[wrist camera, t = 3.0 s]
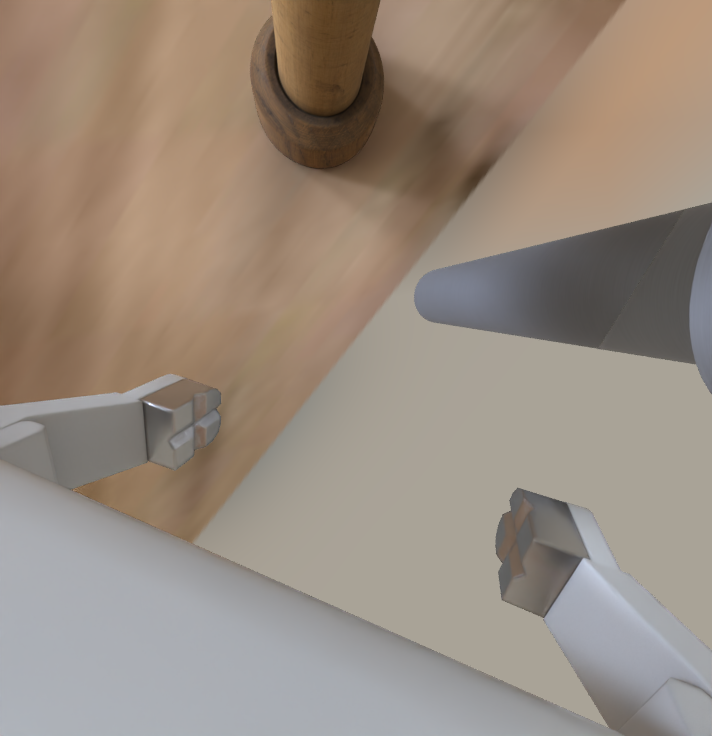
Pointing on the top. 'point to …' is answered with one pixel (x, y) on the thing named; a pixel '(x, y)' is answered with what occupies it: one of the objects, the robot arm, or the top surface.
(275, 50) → the mortar and pestle
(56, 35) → the top surface
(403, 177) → the top surface
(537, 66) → the top surface
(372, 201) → the top surface
